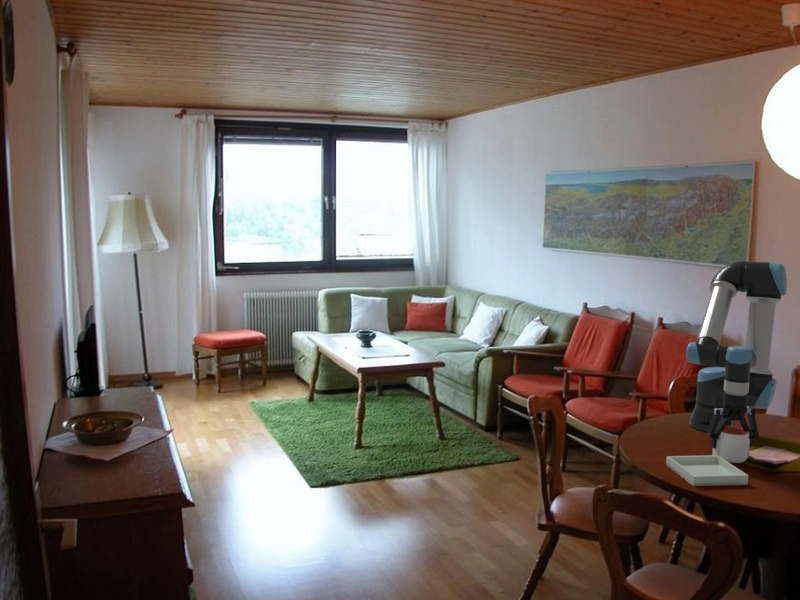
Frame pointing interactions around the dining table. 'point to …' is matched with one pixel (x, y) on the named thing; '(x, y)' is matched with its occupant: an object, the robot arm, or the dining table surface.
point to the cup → (733, 444)
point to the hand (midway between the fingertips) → (730, 456)
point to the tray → (706, 470)
